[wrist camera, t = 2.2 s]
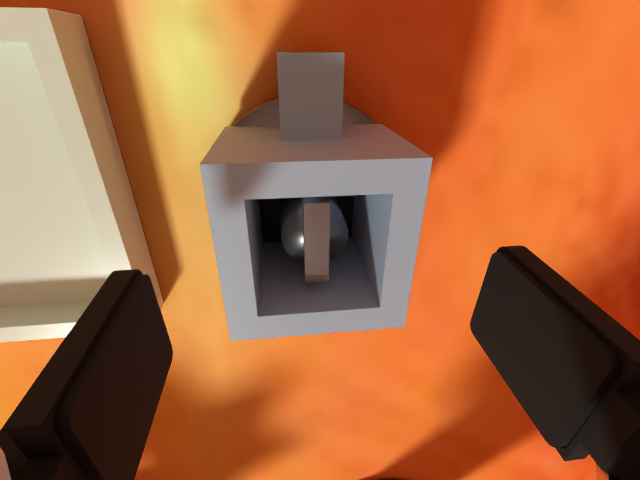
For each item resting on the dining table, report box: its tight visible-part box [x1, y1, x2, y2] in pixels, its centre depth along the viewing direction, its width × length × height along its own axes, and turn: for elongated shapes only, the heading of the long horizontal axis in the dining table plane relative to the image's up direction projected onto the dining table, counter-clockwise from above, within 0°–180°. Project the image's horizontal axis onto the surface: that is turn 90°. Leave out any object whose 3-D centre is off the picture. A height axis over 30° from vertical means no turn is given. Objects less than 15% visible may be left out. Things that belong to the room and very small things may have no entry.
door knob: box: [232, 97, 375, 283], centre depth 16 cm, size 10×10×6 cm
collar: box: [200, 52, 433, 341], centre depth 14 cm, size 10×7×6 cm
